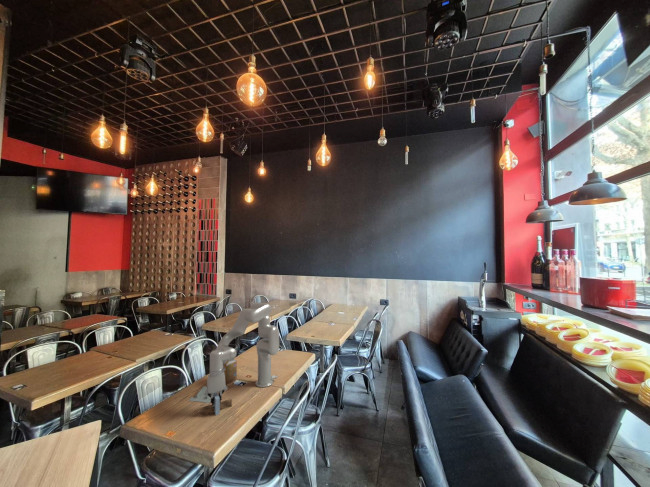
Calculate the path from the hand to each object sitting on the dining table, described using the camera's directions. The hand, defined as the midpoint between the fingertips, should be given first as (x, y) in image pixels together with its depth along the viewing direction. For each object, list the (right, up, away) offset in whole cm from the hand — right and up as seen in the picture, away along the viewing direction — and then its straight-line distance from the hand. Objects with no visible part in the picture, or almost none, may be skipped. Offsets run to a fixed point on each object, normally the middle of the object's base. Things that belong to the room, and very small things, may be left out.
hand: (216, 402), depth 157 cm
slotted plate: (0, -5, 0) cm, 5 cm away
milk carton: (-8, -7, +37) cm, 39 cm away
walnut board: (0, -5, 0) cm, 5 cm away
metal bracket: (-14, -6, +16) cm, 22 cm away
